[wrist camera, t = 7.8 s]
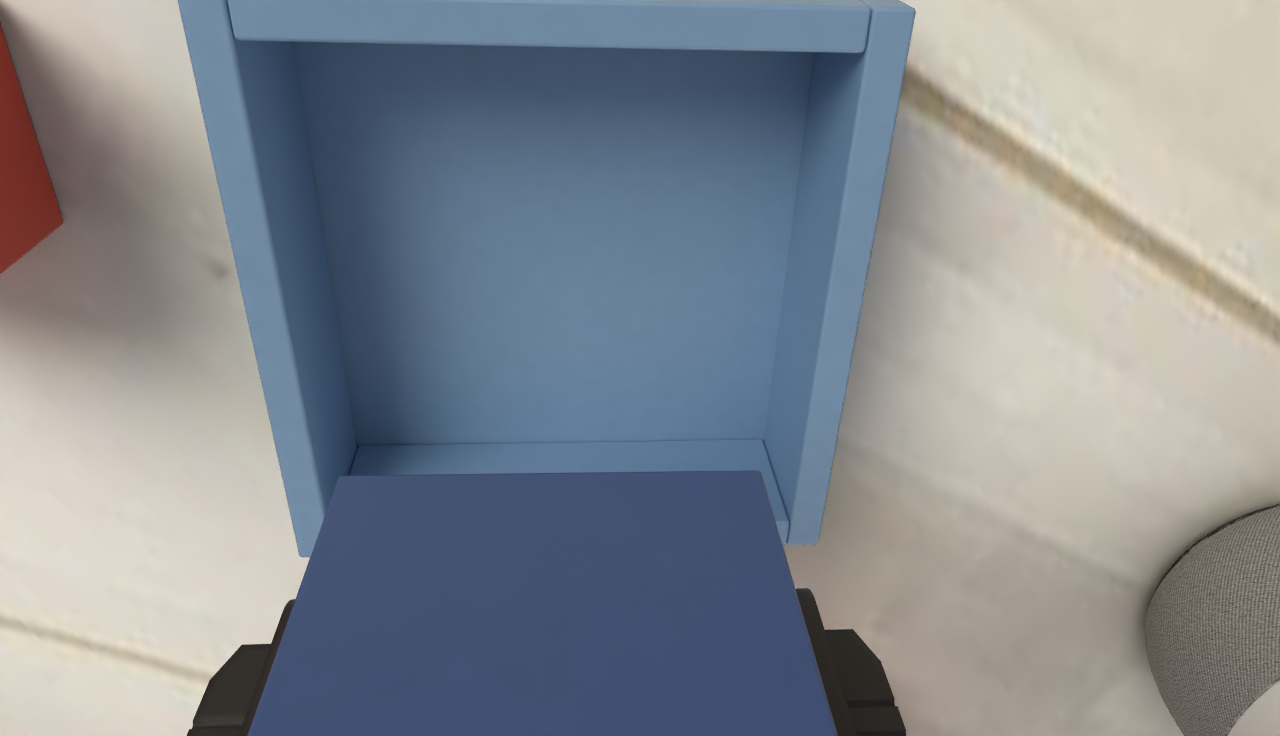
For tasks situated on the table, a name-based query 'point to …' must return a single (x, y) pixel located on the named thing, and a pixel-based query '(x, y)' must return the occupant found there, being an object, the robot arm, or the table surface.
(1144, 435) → the table surface
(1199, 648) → the smart speaker
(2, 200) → the red block
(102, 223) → the table surface
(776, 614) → the blue block
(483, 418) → the blue bin
